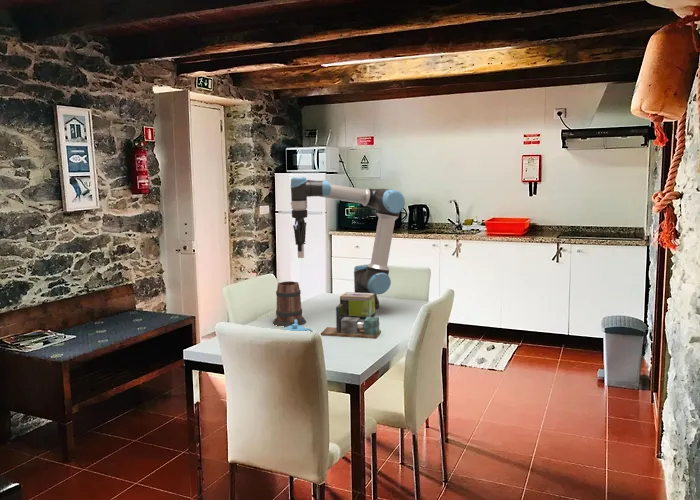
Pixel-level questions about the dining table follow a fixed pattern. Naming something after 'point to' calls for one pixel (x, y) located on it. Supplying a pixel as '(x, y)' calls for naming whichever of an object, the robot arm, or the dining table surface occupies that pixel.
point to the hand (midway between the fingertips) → (300, 257)
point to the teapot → (297, 327)
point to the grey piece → (340, 316)
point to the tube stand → (355, 328)
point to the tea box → (358, 305)
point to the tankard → (288, 304)
